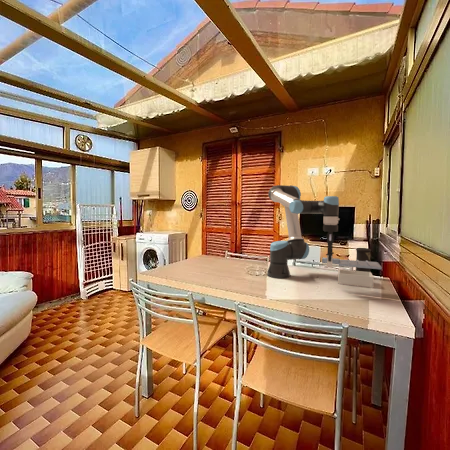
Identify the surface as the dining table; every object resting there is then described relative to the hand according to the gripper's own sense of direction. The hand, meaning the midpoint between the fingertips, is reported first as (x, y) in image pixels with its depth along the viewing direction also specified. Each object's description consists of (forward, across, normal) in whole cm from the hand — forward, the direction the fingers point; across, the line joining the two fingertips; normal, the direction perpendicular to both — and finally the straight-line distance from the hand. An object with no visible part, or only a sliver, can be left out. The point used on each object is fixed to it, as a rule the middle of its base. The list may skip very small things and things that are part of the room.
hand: (329, 266), depth 138 cm
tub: (+13, +18, -14) cm, 26 cm away
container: (+13, +37, -20) cm, 44 cm away
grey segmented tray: (-2, 0, -10) cm, 10 cm away
